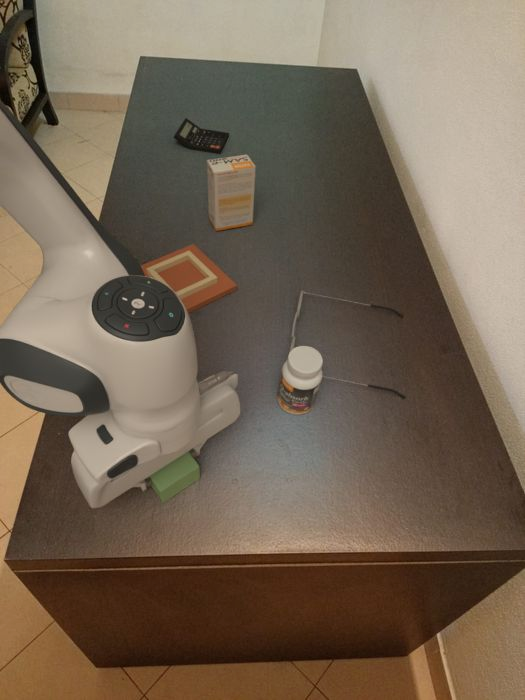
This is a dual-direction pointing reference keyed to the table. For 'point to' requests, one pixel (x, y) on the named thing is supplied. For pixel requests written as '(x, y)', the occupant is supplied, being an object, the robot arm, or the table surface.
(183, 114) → the table surface
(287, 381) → the pill bottle
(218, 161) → the supplement box
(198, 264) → the base pad
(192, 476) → the green block
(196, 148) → the calculator
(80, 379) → the robot arm
